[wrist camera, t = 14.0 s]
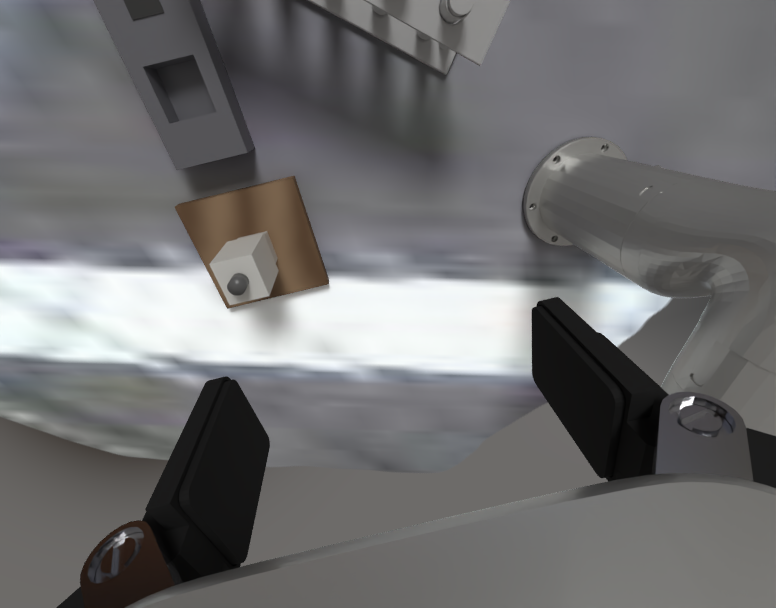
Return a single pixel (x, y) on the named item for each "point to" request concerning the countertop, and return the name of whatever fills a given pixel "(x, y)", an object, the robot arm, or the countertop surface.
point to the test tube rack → (426, 26)
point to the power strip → (179, 77)
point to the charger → (246, 268)
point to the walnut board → (259, 231)
